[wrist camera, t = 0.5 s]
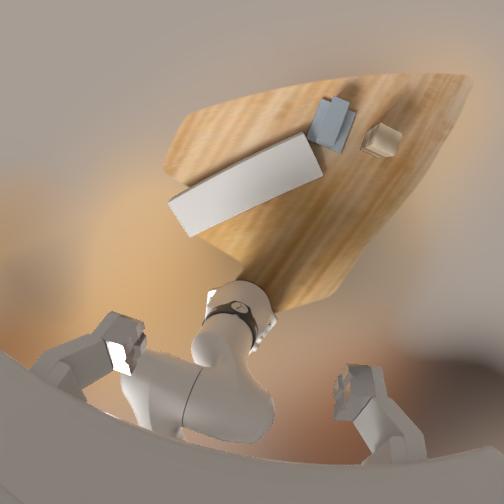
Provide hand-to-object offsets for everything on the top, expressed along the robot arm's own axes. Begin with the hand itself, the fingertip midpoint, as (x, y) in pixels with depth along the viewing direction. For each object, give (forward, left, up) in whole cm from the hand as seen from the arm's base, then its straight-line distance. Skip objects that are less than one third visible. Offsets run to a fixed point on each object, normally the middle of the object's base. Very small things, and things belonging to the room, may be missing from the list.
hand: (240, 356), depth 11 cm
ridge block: (+18, 0, -55) cm, 58 cm away
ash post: (+18, -10, -55) cm, 59 cm away
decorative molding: (-1, +13, -56) cm, 57 cm away
